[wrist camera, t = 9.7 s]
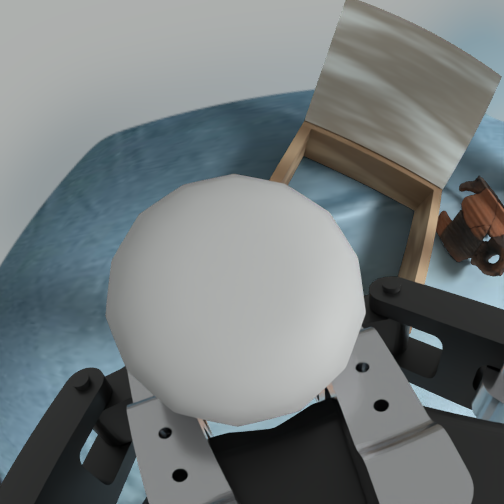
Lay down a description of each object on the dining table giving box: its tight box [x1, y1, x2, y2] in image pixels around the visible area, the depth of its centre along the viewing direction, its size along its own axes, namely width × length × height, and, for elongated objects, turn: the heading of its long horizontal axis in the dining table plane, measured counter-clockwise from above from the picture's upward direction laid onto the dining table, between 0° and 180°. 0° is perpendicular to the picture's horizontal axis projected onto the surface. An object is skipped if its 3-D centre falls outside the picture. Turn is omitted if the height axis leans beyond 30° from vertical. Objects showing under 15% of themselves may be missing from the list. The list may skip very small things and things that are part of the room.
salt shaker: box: [106, 174, 366, 427], centre depth 10 cm, size 6×6×13 cm
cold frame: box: [269, 0, 501, 334], centre depth 23 cm, size 22×16×17 cm
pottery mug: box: [436, 176, 504, 276], centre depth 29 cm, size 12×10×8 cm
